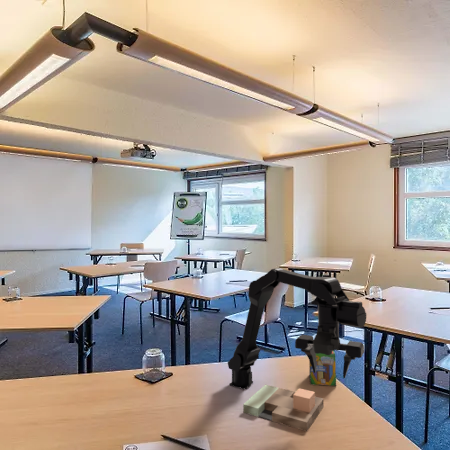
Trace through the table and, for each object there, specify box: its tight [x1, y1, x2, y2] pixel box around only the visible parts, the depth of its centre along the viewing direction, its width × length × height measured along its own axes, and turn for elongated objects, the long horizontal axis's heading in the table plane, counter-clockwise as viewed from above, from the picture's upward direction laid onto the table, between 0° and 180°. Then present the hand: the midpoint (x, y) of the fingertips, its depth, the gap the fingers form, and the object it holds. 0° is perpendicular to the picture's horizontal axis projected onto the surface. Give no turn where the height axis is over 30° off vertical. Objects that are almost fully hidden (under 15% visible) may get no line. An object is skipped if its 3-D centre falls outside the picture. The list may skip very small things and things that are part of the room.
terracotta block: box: [293, 388, 316, 413], centre depth 109 cm, size 5×5×4 cm
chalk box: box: [308, 351, 337, 387], centre depth 133 cm, size 9×9×15 cm
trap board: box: [242, 384, 325, 432], centre depth 112 cm, size 20×16×2 cm
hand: (329, 375), depth 105 cm, fingers open, 8 cm apart
